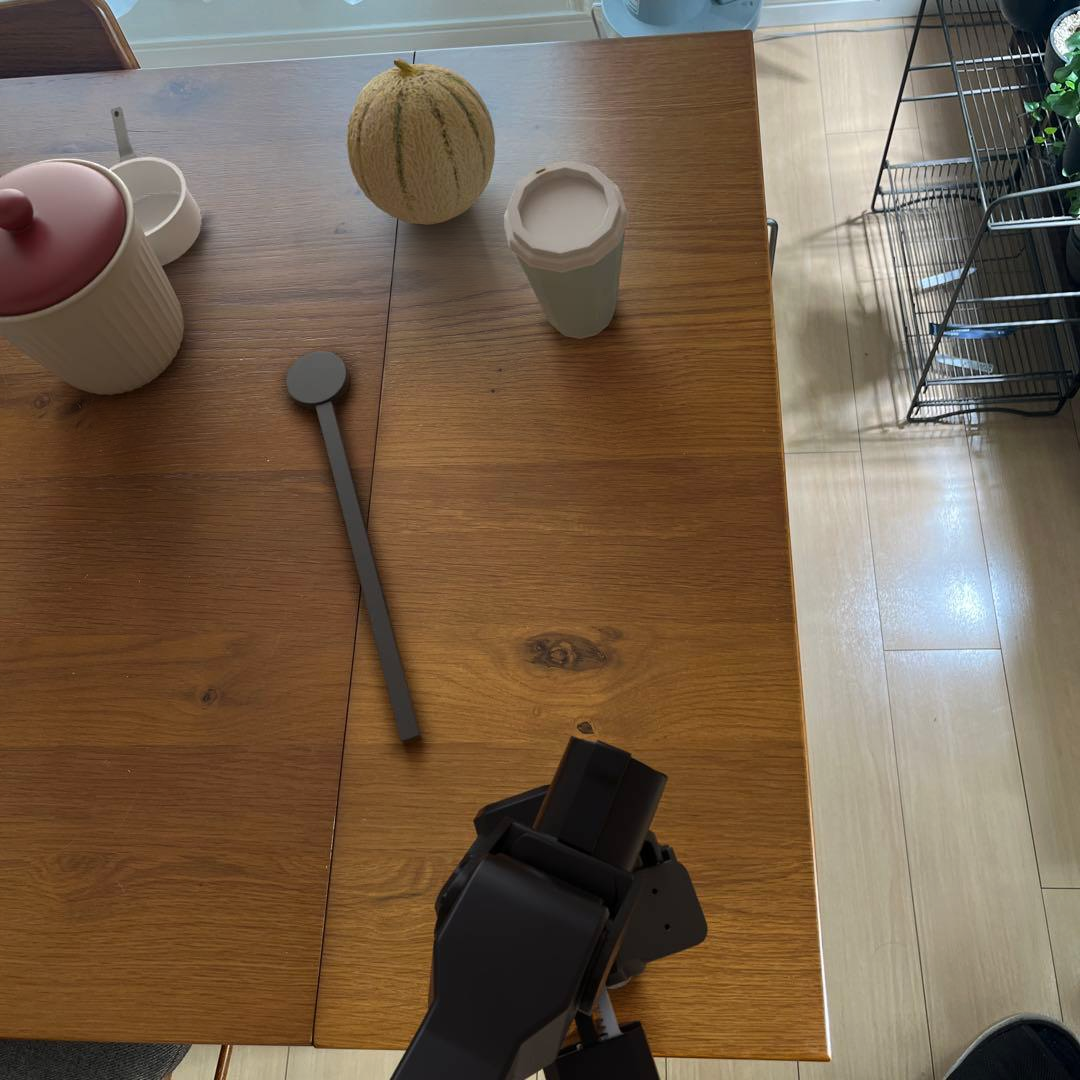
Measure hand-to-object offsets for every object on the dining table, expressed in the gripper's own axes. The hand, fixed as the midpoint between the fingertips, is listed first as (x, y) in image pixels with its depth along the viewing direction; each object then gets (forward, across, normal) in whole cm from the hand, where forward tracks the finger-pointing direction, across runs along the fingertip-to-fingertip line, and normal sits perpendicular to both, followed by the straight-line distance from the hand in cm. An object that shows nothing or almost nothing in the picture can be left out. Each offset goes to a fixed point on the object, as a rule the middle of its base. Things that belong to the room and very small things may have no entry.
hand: (575, 950), depth 66 cm
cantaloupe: (+5, +74, -9) cm, 75 cm away
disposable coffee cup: (+5, +54, -18) cm, 57 cm away
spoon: (+5, +39, +8) cm, 40 cm away
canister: (+5, +68, +26) cm, 73 cm away
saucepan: (+5, +86, +21) cm, 89 cm away
